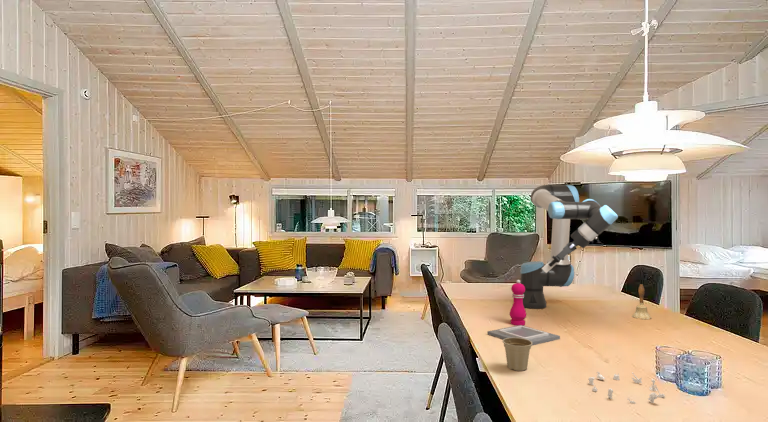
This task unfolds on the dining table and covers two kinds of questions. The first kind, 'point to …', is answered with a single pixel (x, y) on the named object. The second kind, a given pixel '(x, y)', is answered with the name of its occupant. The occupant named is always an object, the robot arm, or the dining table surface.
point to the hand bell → (641, 306)
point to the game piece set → (616, 377)
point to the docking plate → (524, 334)
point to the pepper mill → (518, 304)
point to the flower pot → (517, 353)
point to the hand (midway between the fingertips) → (546, 269)
